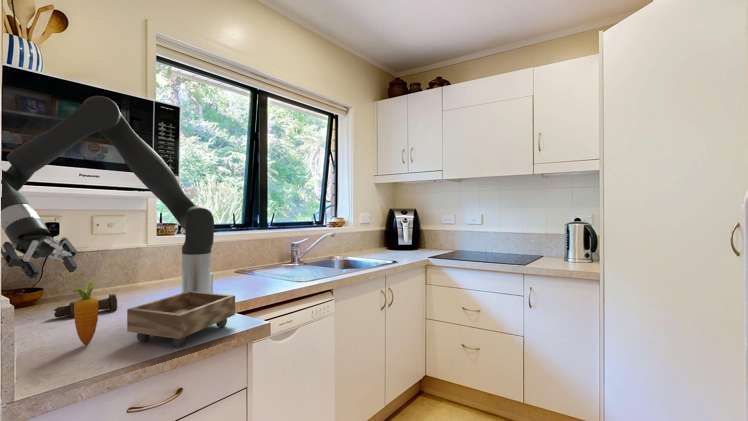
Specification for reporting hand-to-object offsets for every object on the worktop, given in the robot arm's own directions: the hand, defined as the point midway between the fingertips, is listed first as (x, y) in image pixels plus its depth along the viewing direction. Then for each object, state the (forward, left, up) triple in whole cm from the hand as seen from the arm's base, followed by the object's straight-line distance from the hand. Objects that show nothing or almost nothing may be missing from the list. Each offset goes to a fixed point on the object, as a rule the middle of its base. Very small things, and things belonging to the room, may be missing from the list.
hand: (55, 273), depth 92 cm
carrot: (0, +11, -17) cm, 20 cm away
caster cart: (-14, +27, -17) cm, 34 cm away
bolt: (-18, -15, -17) cm, 29 cm away
